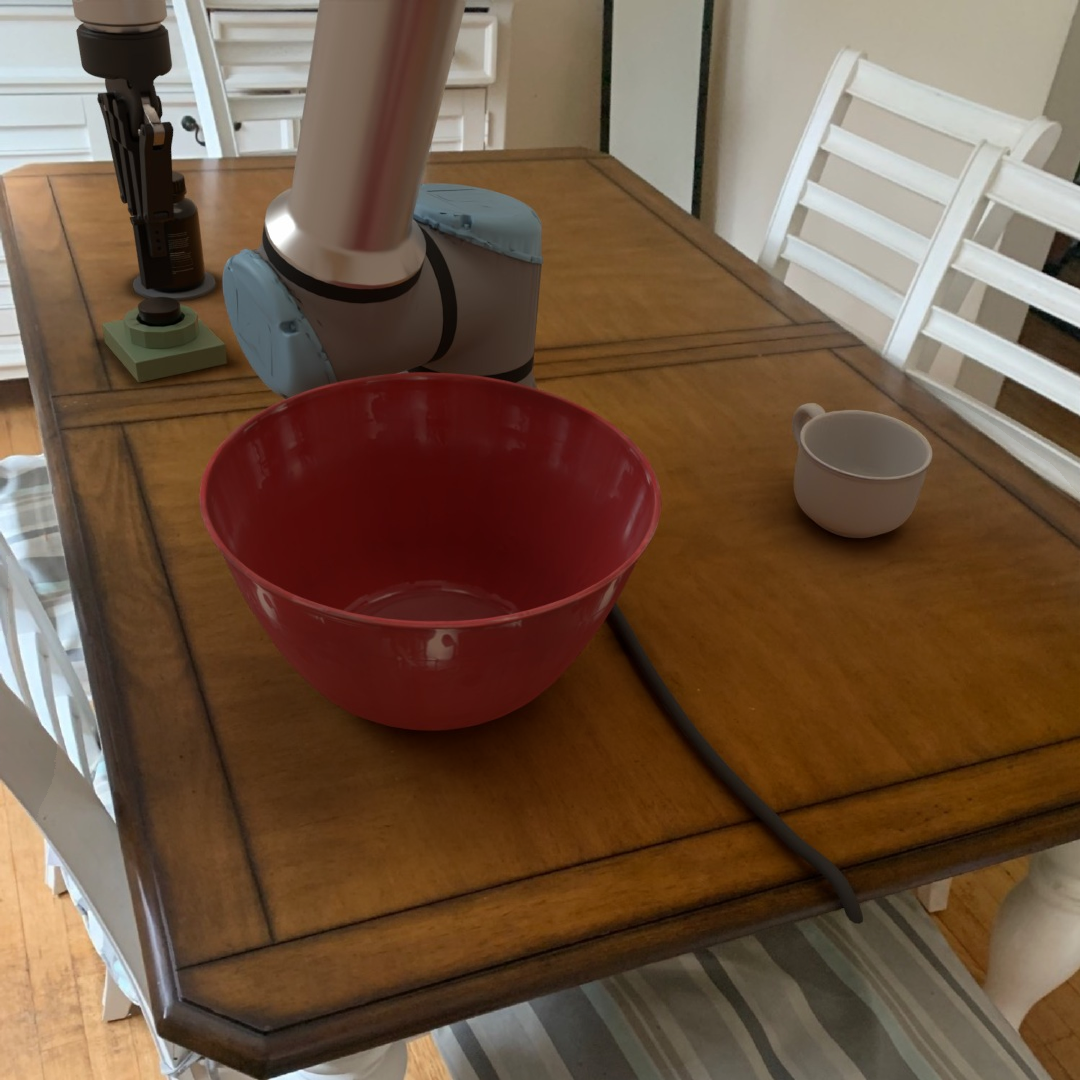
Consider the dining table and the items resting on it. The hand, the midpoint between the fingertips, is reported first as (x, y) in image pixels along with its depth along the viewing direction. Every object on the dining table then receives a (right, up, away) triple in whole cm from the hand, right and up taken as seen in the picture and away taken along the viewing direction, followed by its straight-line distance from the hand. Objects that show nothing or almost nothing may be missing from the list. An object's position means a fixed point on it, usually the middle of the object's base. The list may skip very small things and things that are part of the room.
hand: (157, 284), depth 110 cm
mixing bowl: (+30, -34, -31) cm, 54 cm away
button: (-1, -3, +3) cm, 4 cm away
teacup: (+64, -22, -11) cm, 68 cm away
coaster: (-4, +4, +18) cm, 19 cm away
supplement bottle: (-4, +4, +18) cm, 19 cm away
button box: (-1, -6, +5) cm, 8 cm away
